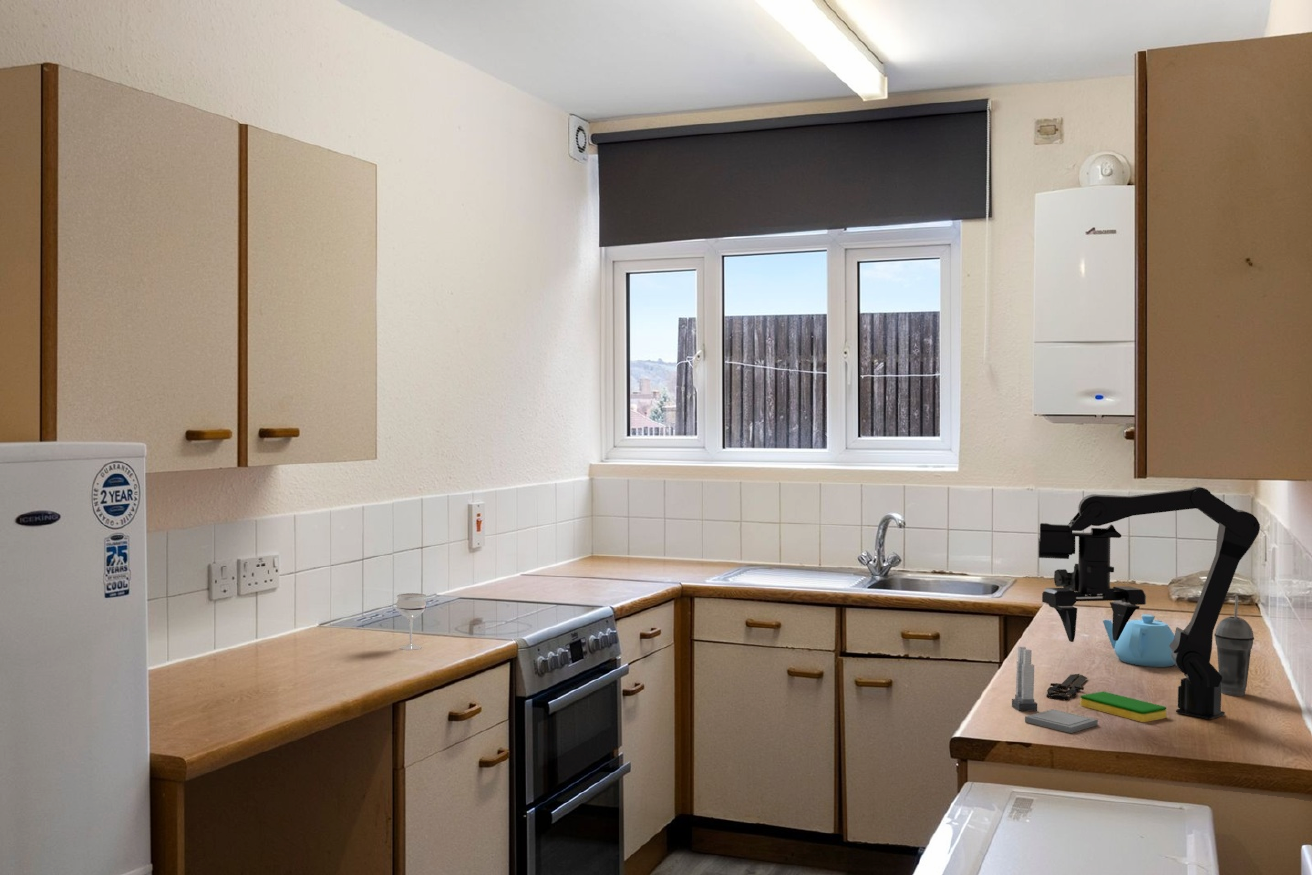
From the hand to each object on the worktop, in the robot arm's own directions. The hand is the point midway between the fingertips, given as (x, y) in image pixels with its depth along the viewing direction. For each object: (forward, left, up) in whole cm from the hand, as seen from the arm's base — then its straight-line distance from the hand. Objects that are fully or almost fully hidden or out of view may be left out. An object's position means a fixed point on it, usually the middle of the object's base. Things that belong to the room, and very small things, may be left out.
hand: (1093, 640), depth 218 cm
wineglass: (+122, +82, -13) cm, 147 cm away
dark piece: (+11, -10, -13) cm, 20 cm away
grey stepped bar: (+6, +14, -12) cm, 19 cm away
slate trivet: (-4, +18, -12) cm, 22 cm away
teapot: (+14, -49, -13) cm, 53 cm away
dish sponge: (-6, 0, -13) cm, 14 cm away
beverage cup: (-12, -33, -13) cm, 38 cm away
